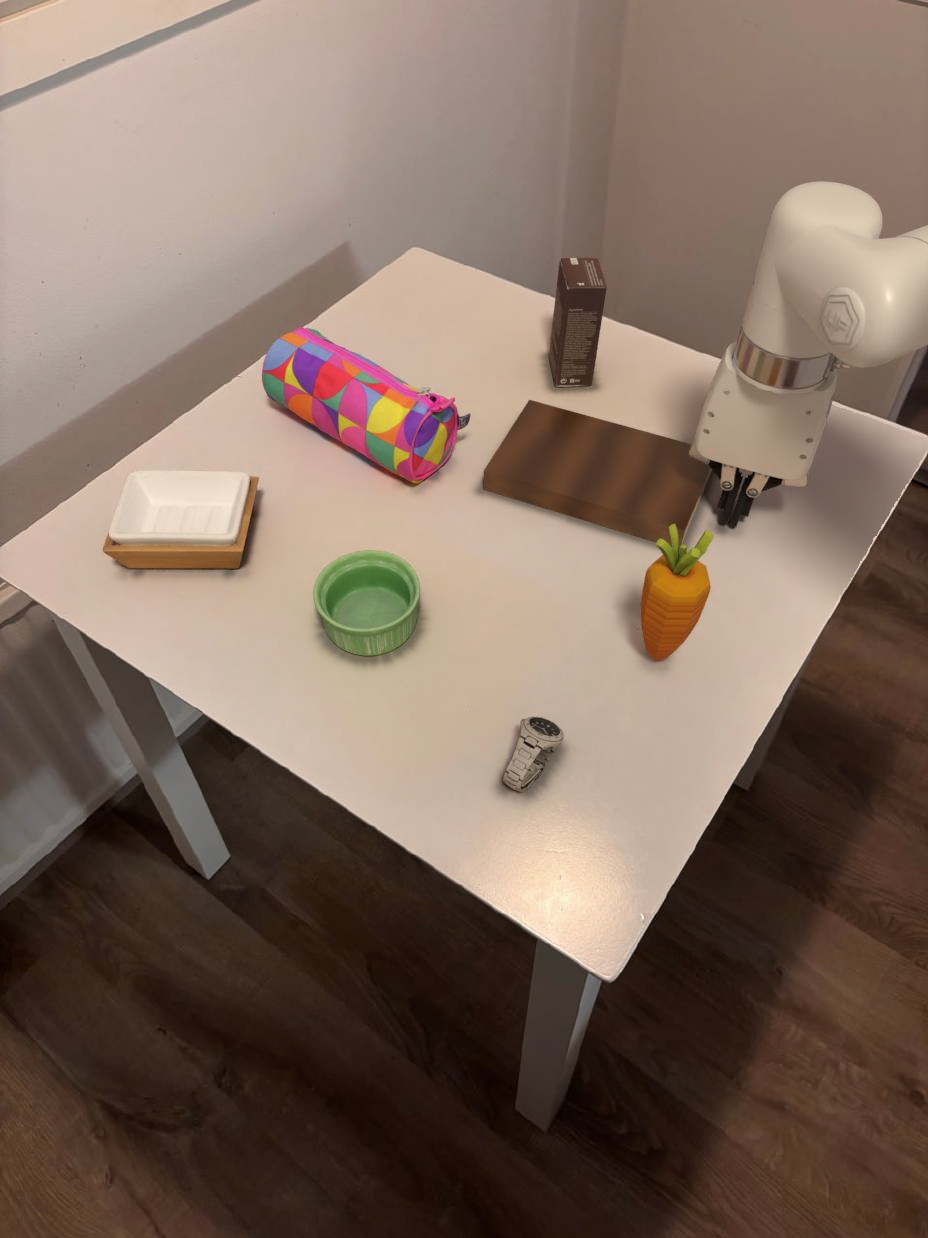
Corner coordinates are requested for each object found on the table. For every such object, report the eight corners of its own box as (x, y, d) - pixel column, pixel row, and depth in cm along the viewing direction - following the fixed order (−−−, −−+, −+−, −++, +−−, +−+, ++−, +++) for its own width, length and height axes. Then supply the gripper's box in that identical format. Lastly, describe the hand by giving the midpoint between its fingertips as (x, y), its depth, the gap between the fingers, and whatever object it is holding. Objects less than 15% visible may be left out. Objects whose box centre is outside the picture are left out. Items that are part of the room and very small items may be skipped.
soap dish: (114, 578, 82) (96, 540, 78) (139, 503, 88) (123, 464, 84) (251, 578, 82) (240, 540, 78) (266, 503, 88) (256, 464, 84)
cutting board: (712, 470, 90) (717, 450, 89) (679, 549, 84) (684, 530, 82) (527, 418, 96) (529, 399, 94) (483, 489, 89) (483, 470, 87)
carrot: (620, 671, 75) (648, 548, 63) (635, 628, 78) (665, 503, 66) (678, 690, 74) (717, 568, 62) (692, 645, 77) (732, 521, 65)
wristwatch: (570, 751, 70) (575, 716, 66) (527, 810, 67) (531, 777, 63) (532, 729, 72) (535, 694, 68) (488, 786, 68) (489, 752, 65)
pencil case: (476, 451, 92) (477, 378, 85) (419, 503, 88) (415, 430, 81) (320, 375, 101) (308, 302, 93) (260, 418, 96) (244, 345, 89)
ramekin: (355, 569, 82) (350, 536, 79) (441, 605, 80) (439, 572, 76) (299, 637, 77) (291, 605, 74) (388, 678, 75) (384, 646, 71)
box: (594, 386, 99) (608, 286, 90) (554, 388, 99) (563, 288, 89) (586, 353, 103) (599, 255, 93) (547, 355, 103) (556, 256, 93)
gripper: (887, 347, 72) (817, 511, 86) (703, 305, 75) (665, 470, 90) (874, 401, 67) (803, 565, 82) (680, 354, 71) (644, 519, 85)
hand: (731, 515), depth 86 cm, fingers closed
